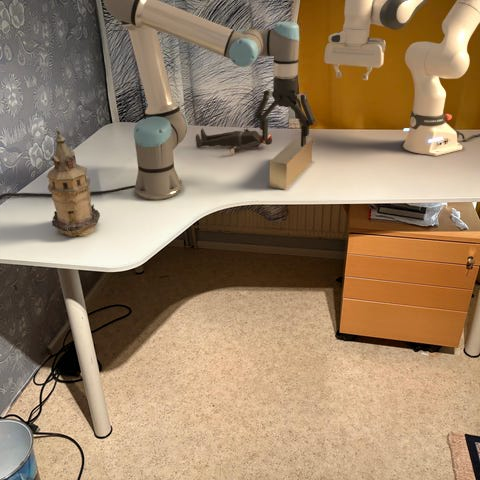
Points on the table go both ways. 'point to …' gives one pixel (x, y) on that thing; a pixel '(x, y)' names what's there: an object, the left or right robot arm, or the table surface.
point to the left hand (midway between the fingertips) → (283, 142)
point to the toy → (233, 140)
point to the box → (290, 163)
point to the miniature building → (70, 193)
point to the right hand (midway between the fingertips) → (351, 78)
